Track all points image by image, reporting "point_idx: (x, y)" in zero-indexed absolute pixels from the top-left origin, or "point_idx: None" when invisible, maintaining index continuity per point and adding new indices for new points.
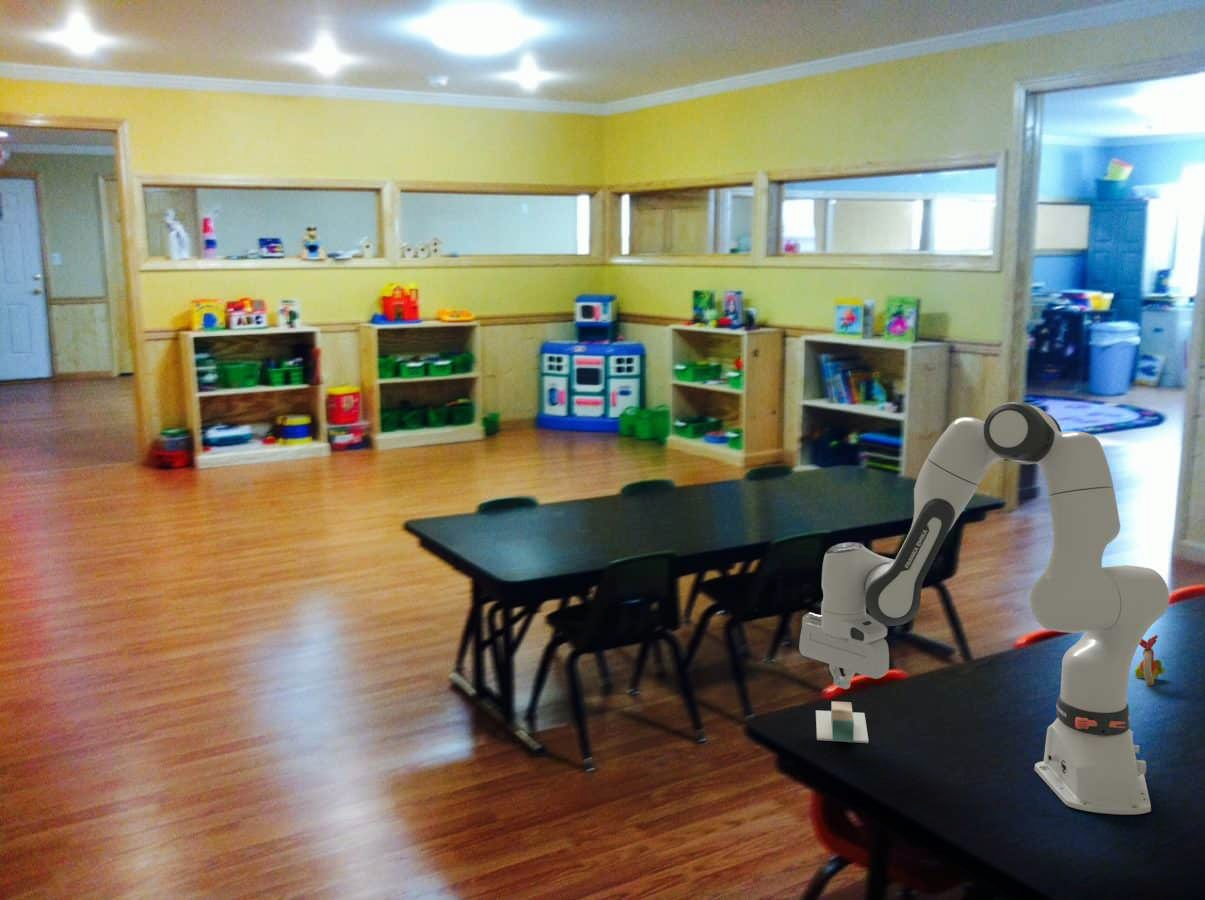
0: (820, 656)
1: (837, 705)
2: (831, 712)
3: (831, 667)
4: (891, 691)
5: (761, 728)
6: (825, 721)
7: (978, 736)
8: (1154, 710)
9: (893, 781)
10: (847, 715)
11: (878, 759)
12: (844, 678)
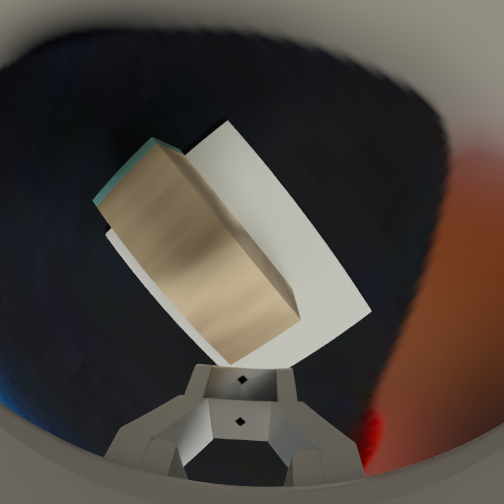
0: (476, 480)
1: (250, 301)
2: (278, 281)
3: (331, 460)
4: (281, 480)
5: (407, 85)
6: (296, 260)
7: (53, 401)
8: None
9: (7, 124)
10: (144, 237)
11: (49, 172)
12: (181, 409)
